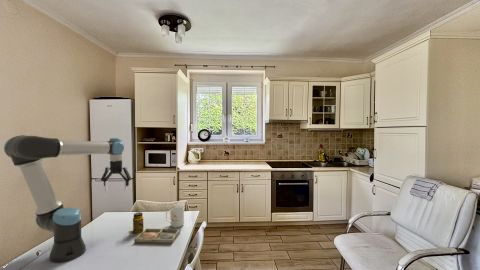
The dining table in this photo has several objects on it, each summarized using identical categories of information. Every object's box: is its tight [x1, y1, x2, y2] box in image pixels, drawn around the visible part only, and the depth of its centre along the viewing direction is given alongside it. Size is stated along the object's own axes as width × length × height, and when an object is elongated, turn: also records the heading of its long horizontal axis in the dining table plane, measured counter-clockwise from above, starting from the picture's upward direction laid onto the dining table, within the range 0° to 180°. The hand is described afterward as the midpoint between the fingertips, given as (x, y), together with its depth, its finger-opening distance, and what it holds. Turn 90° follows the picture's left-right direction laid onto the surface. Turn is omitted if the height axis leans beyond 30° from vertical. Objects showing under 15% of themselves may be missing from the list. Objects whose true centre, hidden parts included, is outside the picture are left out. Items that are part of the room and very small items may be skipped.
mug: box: [165, 206, 185, 229], centre depth 156 cm, size 12×9×11 cm
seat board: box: [134, 228, 181, 245], centre depth 138 cm, size 14×22×2 cm, turn 87°
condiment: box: [128, 211, 145, 237], centre depth 146 cm, size 7×8×12 cm
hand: (116, 190), depth 159 cm, fingers open, 13 cm apart
